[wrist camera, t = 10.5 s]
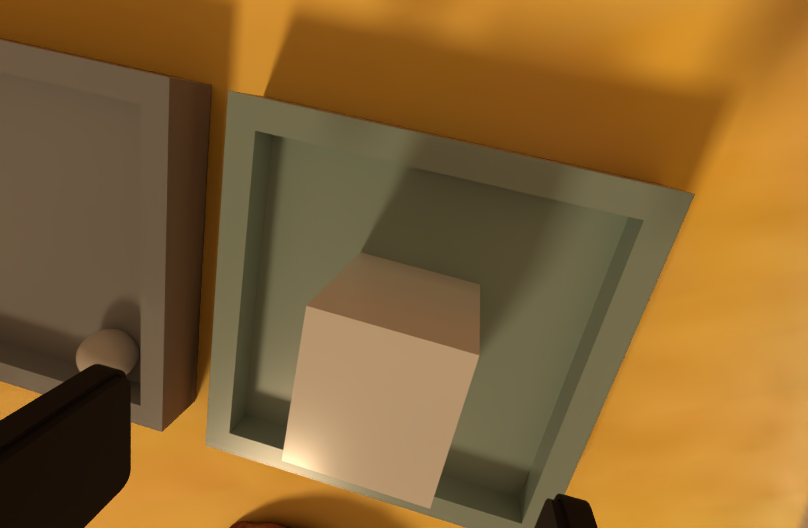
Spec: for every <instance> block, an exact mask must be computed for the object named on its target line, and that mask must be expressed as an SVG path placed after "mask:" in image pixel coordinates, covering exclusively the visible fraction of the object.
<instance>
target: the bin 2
mask: <svg viewBox="0 0 808 528" xmlns="http://www.w3.org/2000/svg"><path fill="white" fill-rule="evenodd" d="M694 195H695V194H692V193H689V192H685V191H682V190H679V189H675V188H672V187H668V186H665V185H661V184H656V183H652V182H647V181H643V180H638V179H634V178H629V177H625V176H620V175H616V174H611V173H607V172H602V171H598V170H593V169H589V168H584V167H580V166H575V165H570V164H566V163H561V162H557V161H552V160H548V159H543V158H539V157H534V156H530V155H525V154H521V153H516V152H512V151H507V150H503V149H498V148H494V147H489V146H485V145H480V144H476V143H471V142H467V141H462V140H458V139H453V138H449V137H444V136H440V135H435V134H431V133H426V132H422V131H417V130H413V129H408V128H403V127H399V126H394V125H390V124H385V123H381V122H376V121H372V120H367V119H363V118H358V117H354V116H349V115H345V114H340V113H336V112H331V111H327V110H322V109H318V108H313V107H309V106H304V105H300V104H295V103H291V102H286V101H282V100H277V99H273V98H268V97H264V96H258V95H252V94H246V93H240V92H234V91H228V100H227V115H226V131H225V147H224V162H223V178H222V194H221V210H220V225H219V241H218V257H217V272H216V288H215V304H214V319H213V335H212V351H211V366H210V382H209V398H208V414H207V429H206V446H209V447H212V448H215V449H218V450H221V451H225V452H228V453H231V454H234V455H237V456H240V457H244V458H247V459H250V460H253V461H256V462H260V463H263V464H266V465H269V466H272V467H275V468H279V469H282V470H285V471H288V472H291V473H295V474H298V475H301V476H304V477H307V478H310V479H314V480H317V481H320V482H323V483H326V484H329V485H333V486H336V487H339V488H342V489H345V490H349V491H352V492H355V493H358V494H361V495H364V496H368V497H371V498H374V499H377V500H380V501H384V502H387V503H390V504H393V505H396V506H399V507H403V508H406V509H409V510H412V511H415V512H418V513H422V514H425V515H428V516H431V517H434V518H438V519H441V520H444V521H447V522H450V523H453V524H457V525H460V526H463V527H466V528H534V527H535V525H536V522H537V520H538V517H539V515H540V512H541V510H542V507H543V505H544V503H545V501H546V499H547V498H550V499H553V500H554V498H555V496H556V495H557V494H563V495H564V494H565V492H566V490H567V487H568V485H569V483H570V480H571V478H572V476H573V474H574V471H575V469H576V467H577V464H578V462H579V460H580V457H581V455H582V453H583V451H584V448H585V446H586V444H587V441H588V439H589V437H590V434H591V432H592V430H593V427H594V425H595V423H596V421H597V418H598V416H599V414H600V411H601V409H602V407H603V404H604V402H605V400H606V398H607V395H608V393H609V391H610V388H611V386H612V384H613V381H614V379H615V377H616V375H617V372H618V370H619V368H620V365H621V363H622V361H623V358H624V356H625V354H626V352H627V349H628V347H629V345H630V342H631V340H632V338H633V335H634V333H635V331H636V328H637V326H638V324H639V322H640V319H641V317H642V315H643V312H644V310H645V308H646V305H647V303H648V301H649V299H650V296H651V294H652V292H653V289H654V287H655V285H656V282H657V280H658V278H659V276H660V273H661V271H662V269H663V266H664V264H665V262H666V259H667V257H668V255H669V252H670V250H671V248H672V246H673V243H674V241H675V239H676V236H677V234H678V232H679V229H680V227H681V225H682V223H683V220H684V218H685V216H686V213H687V211H688V209H689V206H690V204H691V202H692V200H693V197H694ZM360 252H362V253H365V254H369V255H373V256H376V257H380V258H384V259H387V260H391V261H395V262H399V263H402V264H406V265H410V266H413V267H417V268H421V269H424V270H428V271H432V272H436V273H439V274H443V275H447V276H450V277H454V278H458V279H461V280H465V281H469V282H473V283H476V284H480V355H479V359H478V362H477V365H476V368H475V371H474V374H473V377H472V380H471V383H470V386H469V390H468V393H467V396H466V399H465V402H464V405H463V408H462V411H461V414H460V417H459V420H458V424H457V427H456V430H455V433H454V436H453V439H452V442H451V445H450V448H449V451H448V455H447V458H446V461H445V464H444V467H443V470H442V473H441V476H440V479H439V482H438V486H437V489H436V492H435V495H434V498H433V501H432V504H431V507H430V509H429V508H426V507H423V506H420V505H417V504H413V503H410V502H407V501H404V500H401V499H398V498H395V497H392V496H389V495H386V494H383V493H380V492H377V491H373V490H370V489H367V488H364V487H361V486H358V485H355V484H352V483H349V482H346V481H343V480H340V479H337V478H334V477H330V476H327V475H324V474H321V473H318V472H315V471H312V470H309V469H306V468H303V467H300V466H297V465H294V464H291V463H287V462H284V461H282V455H283V449H284V443H285V436H286V430H287V424H288V417H289V411H290V405H291V399H292V392H293V386H294V380H295V374H296V367H297V361H298V355H299V348H300V342H301V336H302V330H303V323H304V317H305V311H306V306H307V305H308V304H309V303H310V302H311V301H312V300H313V299H314V298H315V297H316V296H317V295H318V294H319V293H320V292H321V291H322V290H323V289H324V288H325V287H326V286H327V285H328V284H329V283H330V282H331V281H332V280H333V279H334V278H335V277H336V276H337V275H338V274H339V273H340V272H341V271H342V270H343V269H344V268H345V267H346V266H347V265H348V264H349V263H350V262H351V261H352V260H353V259H354V258H355V257H356V256H357V255H358V254H359V253H360Z"/></svg>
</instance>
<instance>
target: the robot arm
mask: <svg viewBox="0 0 808 528" xmlns="http://www.w3.org/2000/svg"><path fill="white" fill-rule="evenodd" d="M130 471H131V384H130V381H129V380H128V379H127V378H126V374H125V372H124V371H122V370H119V369H116V368H112V367H109V366H105V365H101V364H94V365H92V366H89V367H88V368H86V369H84V370H83V371H81V372H79V373H78V374H76V375H75V376H73V377H71V378H70V379H68V380H66V381H65V382H63V383H61V384H60V385H58V386H56V387H55V388H53V389H51V390H50V391H48V392H46V393H45V394H43V395H42V396H40V397H38V398H37V399H35V400H33V401H32V402H30V403H28V404H27V405H25V406H23V407H22V408H20V409H18V410H17V411H15V412H14V413H12V414H10V415H9V416H7V417H5V418H4V419H2V420H0V528H84V527H85V526H86V525H87V524H88V523H89V522H90V521H91V520H92V519H93V518H94V517H95V516H96V515H97V514H98V513H99V512H100V511H101V510H102V509H103V508H104V507H105V506H106V505H107V504H108V503H109V502H110V501H111V500H112V499H113V498H114V497H115V496H116V495H117V494H118V493H119V492H120V491H121V489H122V488H123V487H124V486H125V484H126V483H127V481H128V479H129V476H130ZM534 528H597V524H596V521H595V518H594V515H593V512H592V509H591V507H590V505H589V503H588V502H587V501H585V500H581V499H578V498H574V497H570V496H567V495H563V494H557V495H556V496H555V498H554V500H553V499H550V498H547V499H546V501H545V503H544V505H543V507H542V510H541V512H540V515H539V517H538V520H537V522H536V525H535V527H534Z"/></svg>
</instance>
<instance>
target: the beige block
mask: <svg viewBox="0 0 808 528" xmlns="http://www.w3.org/2000/svg"><path fill="white" fill-rule="evenodd" d="M479 355H480V284H476V283H473V282H469V281H465V280H461V279H458V278H454V277H450V276H447V275H443V274H439V273H436V272H432V271H428V270H424V269H421V268H417V267H413V266H410V265H406V264H402V263H399V262H395V261H391V260H387V259H384V258H380V257H376V256H373V255H369V254H365V253H362V252H360V253H359V254H358V255H357V256H356V257H355V258H354V259H353V260H352V261H351V262H350V263H349V264H348V265H347V266H346V267H345V268H344V269H343V270H342V271H341V272H340V273H339V274H338V275H337V276H336V277H335V278H334V279H333V280H332V281H331V282H330V283H329V284H328V285H327V286H326V287H325V288H324V289H323V290H322V291H321V292H320V293H319V294H318V295H317V296H316V297H315V298H314V299H313V300H312V301H311V302H310V303H309V304H308V305H307V306H306V311H305V317H304V323H303V330H302V336H301V342H300V348H299V355H298V361H297V367H296V374H295V380H294V386H293V392H292V399H291V405H290V411H289V417H288V424H287V430H286V436H285V443H284V449H283V455H282V461H284V462H287V463H291V464H294V465H297V466H300V467H303V468H306V469H309V470H312V471H315V472H318V473H321V474H324V475H327V476H330V477H334V478H337V479H340V480H343V481H346V482H349V483H352V484H355V485H358V486H361V487H364V488H367V489H370V490H373V491H377V492H380V493H383V494H386V495H389V496H392V497H395V498H398V499H401V500H404V501H407V502H410V503H413V504H417V505H420V506H423V507H426V508H429V509H430V507H431V504H432V501H433V498H434V495H435V492H436V489H437V486H438V482H439V479H440V476H441V473H442V470H443V467H444V464H445V461H446V458H447V455H448V451H449V448H450V445H451V442H452V439H453V436H454V433H455V430H456V427H457V424H458V420H459V417H460V414H461V411H462V408H463V405H464V402H465V399H466V396H467V393H468V390H469V386H470V383H471V380H472V377H473V374H474V371H475V368H476V365H477V362H478V359H479Z"/></svg>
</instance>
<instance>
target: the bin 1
mask: <svg viewBox="0 0 808 528" xmlns="http://www.w3.org/2000/svg"><path fill="white" fill-rule="evenodd" d="M210 102H211V85H209V84H205V83H200V82H196V81H191V80H187V79H182V78H178V77H173V76H169V75H164V74H160V73H155V72H151V71H146V70H142V69H137V68H133V67H128V66H124V65H119V64H115V63H110V62H106V61H101V60H97V59H92V58H87V57H83V56H78V55H74V54H69V53H65V52H60V51H56V50H51V49H47V48H42V47H38V46H33V45H29V44H24V43H20V42H15V41H11V40H6V39H2V38H0V381H2V382H5V383H8V384H12V385H15V386H18V387H21V388H24V389H28V390H31V391H34V392H37V393H40V394H45V393H46V392H48V391H50V390H51V389H53V388H55V387H56V386H58V385H60V384H61V383H63V382H65V381H66V380H68V379H70V378H71V377H73V376H75V375H76V374H78V373H79V372H81V371H83V370H84V369H86V368H88V367H89V366H92V365H94V364H101V365H105V366H109V367H112V368H116V369H119V370H122V371H124V372H125V374H126V378H127V379H128V380H129V381H130V384H131V422H132V423H136V424H139V425H142V426H145V427H148V428H151V429H155V430H158V431H161V432H162V431H163V430H164V429H165V428H167V427H168V426H169V425H170V424H171V423H172V422H173V421H174V420H175V419H176V418H177V417H178V416H179V415H180V414H181V413H183V412H184V411H185V410H186V409H187V408H188V407H189V406H190V405H191V404H192V403H193V402H194V401H195V394H196V374H197V355H198V335H199V316H200V296H201V277H202V258H203V238H204V219H205V199H206V180H207V160H208V141H209V121H210Z"/></svg>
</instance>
